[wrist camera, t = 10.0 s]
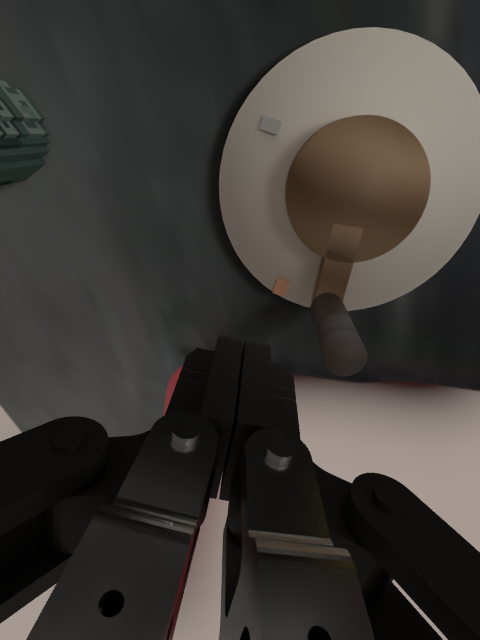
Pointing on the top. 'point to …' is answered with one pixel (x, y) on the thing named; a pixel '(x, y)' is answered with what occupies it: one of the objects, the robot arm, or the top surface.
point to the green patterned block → (19, 135)
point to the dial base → (333, 104)
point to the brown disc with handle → (353, 214)
